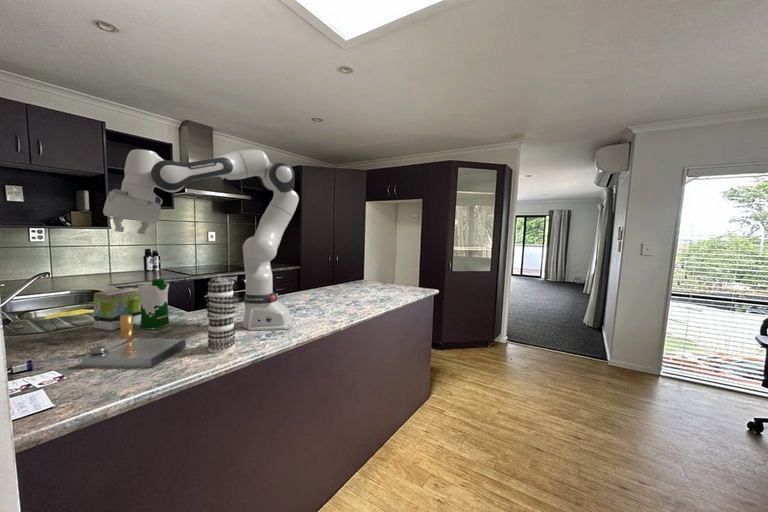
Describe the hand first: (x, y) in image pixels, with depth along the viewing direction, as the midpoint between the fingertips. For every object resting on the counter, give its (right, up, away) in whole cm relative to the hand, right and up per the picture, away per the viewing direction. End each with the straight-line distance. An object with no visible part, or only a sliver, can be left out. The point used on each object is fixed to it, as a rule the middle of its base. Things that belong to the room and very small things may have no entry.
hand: (130, 232), depth 109 cm
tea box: (-22, -38, +23) cm, 49 cm away
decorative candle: (+33, -41, 0) cm, 52 cm away
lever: (+3, -37, -10) cm, 39 cm away
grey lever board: (+10, -41, -9) cm, 43 cm away
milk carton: (-7, -38, +21) cm, 44 cm away
